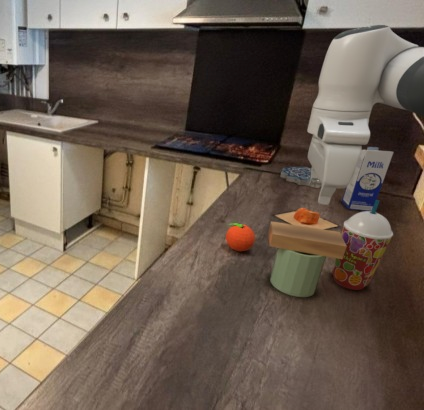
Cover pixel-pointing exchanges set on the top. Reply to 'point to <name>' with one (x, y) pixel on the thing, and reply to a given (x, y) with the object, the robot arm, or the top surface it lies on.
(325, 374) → the top surface
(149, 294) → the top surface
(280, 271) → the cup
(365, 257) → the smoothie
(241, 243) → the clementine
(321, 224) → the salmon on cutting board
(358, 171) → the milk carton
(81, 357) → the top surface
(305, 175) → the decorative tile
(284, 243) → the wooden block
